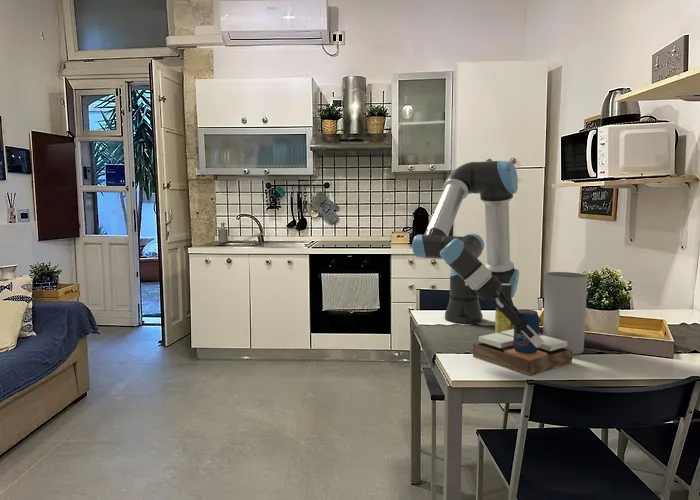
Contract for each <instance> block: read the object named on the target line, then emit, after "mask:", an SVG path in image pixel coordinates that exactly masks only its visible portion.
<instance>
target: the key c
mask: <svg viewBox="0 0 700 500" xmlns="http://www.w3.org/2000/svg"><path fill="white" fill-rule="evenodd" d="M540 338H541V339H542V340H543V341H544V343H542V344H541V345H540V346H539V347H538V348H541V349H545V350H548V351H553V350H556V349H560V348H564V347H567V341H563V340H559V339H555V338H552V337H548V336H544V335H543V334H541V336H540Z"/></svg>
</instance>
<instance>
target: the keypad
mask: <svg viewBox="0 0 700 500" xmlns="http://www.w3.org/2000/svg"><path fill="white" fill-rule="evenodd" d="M512 348H514V347H513V345H512V346H508V347H504V348H498V347H495V346H492V345H489V344H485V343H482V342H478V343H477V342H476V343H473V347H472V357H473V358H476V359H479V360H482V361H485V362H487V363H491V364H492V365H495V366H499V367H502V368H504V367H505V369H507V368H508V370H511V371H514V372H517V373H520V374H521V375H525V376H528V377H531V376H534V375H537V374H541V373H544V372H547V371H550V370H554V369H556V368H561V367H563V366H566V365H569V364H572V363H573V355H572V351H573V350H571V349H567V348H560V349H556V350H553V351H548V350H545V349H541V348H538V350H539V351H542V352H546V353H547V356H545V357H541V358H538V359H534V360H531V361H528V360H525V359H522V358H519V357H515V356H512V355H509V354H506V353H504V352H505V350H508V349H512Z"/></svg>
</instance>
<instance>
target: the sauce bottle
mask: <svg viewBox="0 0 700 500" xmlns="http://www.w3.org/2000/svg"><path fill="white" fill-rule="evenodd" d="M511 288H512V285H511V284H501V286H500V291H501V292H503V293H504V294H505V296H506V297H507V298H508V299H509V300H510V302H511V303H512V304H513V305H514V302H513V297H512V298H511ZM514 306H515V305H514ZM494 315H495V317H494V318H495V319H494V321H495V322H494V333H499V334H500V332H502V331H507V330H511V329H514V325H513V324H512V322H511V321H510V320H509V319H508V318H507V317H506V316H505V315H504V314H503V313H502V312H501V311H500V310H499V309H498V308H497V307H496V306H495V314H494Z"/></svg>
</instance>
